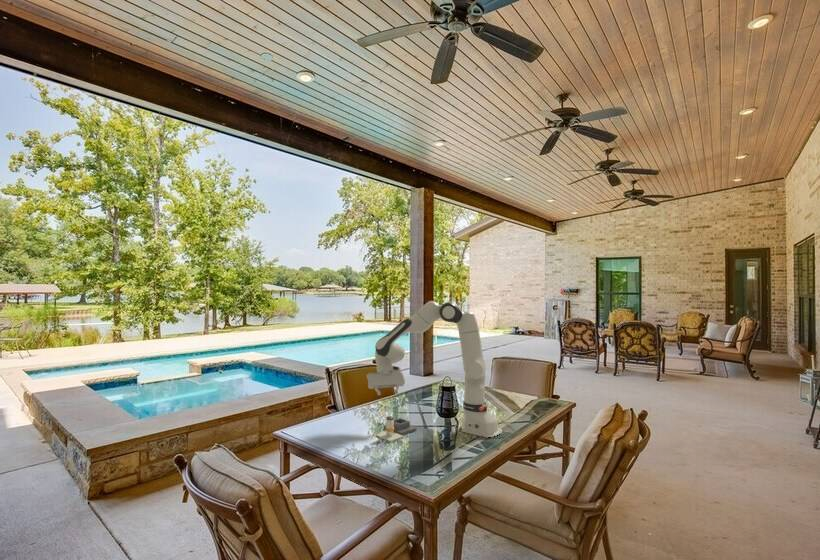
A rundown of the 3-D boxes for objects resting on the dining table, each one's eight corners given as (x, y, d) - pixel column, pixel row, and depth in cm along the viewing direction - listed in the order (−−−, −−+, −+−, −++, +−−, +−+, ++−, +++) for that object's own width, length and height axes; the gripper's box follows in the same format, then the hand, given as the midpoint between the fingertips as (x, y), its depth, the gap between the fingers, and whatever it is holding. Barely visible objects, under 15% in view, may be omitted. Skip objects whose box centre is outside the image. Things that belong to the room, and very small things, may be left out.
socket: (416, 430, 213) (416, 422, 213) (401, 435, 205) (401, 426, 205) (398, 423, 223) (398, 415, 223) (383, 428, 215) (383, 420, 215)
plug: (395, 435, 203) (396, 417, 203) (389, 437, 200) (389, 419, 200) (390, 433, 206) (390, 415, 206) (383, 435, 203) (383, 417, 203)
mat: (403, 437, 202) (403, 436, 202) (390, 442, 196) (390, 440, 196) (388, 431, 210) (389, 430, 210) (375, 436, 204) (375, 434, 204)
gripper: (366, 369, 221) (368, 392, 212) (403, 367, 225) (406, 389, 216) (366, 375, 226) (368, 398, 216) (401, 373, 230) (405, 395, 220)
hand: (387, 393), depth 216 cm, fingers open, 8 cm apart
